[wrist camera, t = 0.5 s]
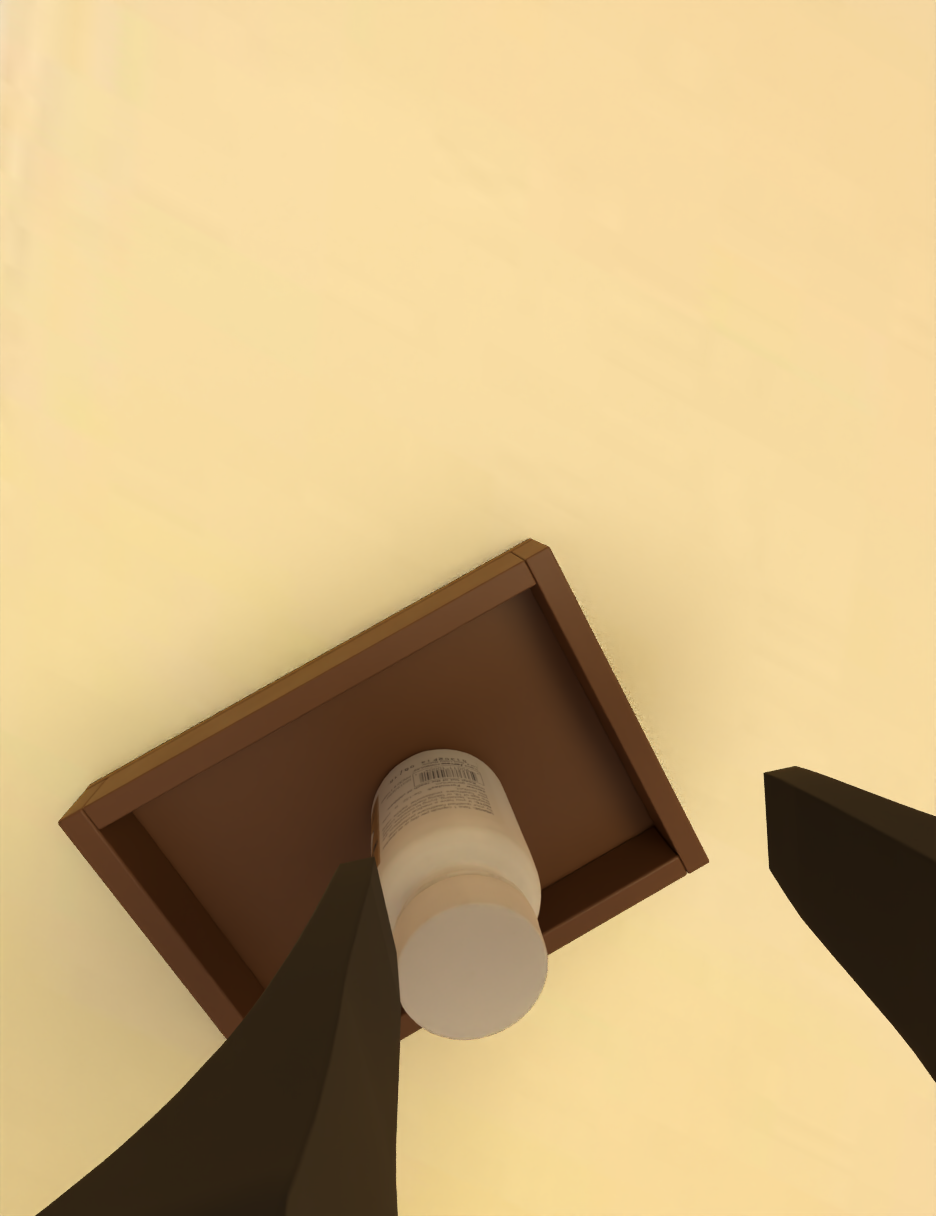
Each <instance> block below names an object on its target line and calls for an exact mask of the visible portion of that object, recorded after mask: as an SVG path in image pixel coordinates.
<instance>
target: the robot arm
mask: <svg viewBox="0 0 936 1216" xmlns="http://www.w3.org/2000/svg"><path fill="white" fill-rule="evenodd" d="M764 787H765V804H766V821H767V839H768V856H769V869H770V871H771V872H772V874H773V875H774V877H775V879H776V880H777V882H778V883H779V885H780V887H781V888H782V890H783V891H784V893H785V895H786V896H787V898H788V899H789V901H790V902H791V903H792V905H793V906H794V908H795V909H796V911H797V912H798V914H799V915H800V917H801V918H802V919H803V921H804V922H805V923H806V924H807V925H808V927H809V928H810V929H811V930H812V931H813V933H814V934H815V935H816V936H817V937H818V939H819V940H820V941H821V942H822V943H823V944H824V946H825V947H826V948H827V949H828V950H829V952H830V953H831V954H832V955H833V956H834V957H835V959H836V960H837V961H838V962H839V963H840V964H841V966H842V967H843V968H844V969H845V970H846V971H847V973H848V974H849V975H850V976H851V977H852V978H853V980H854V981H855V982H856V983H857V984H858V985H859V987H860V988H861V989H862V990H863V991H864V992H865V994H866V995H867V996H868V997H869V998H870V999H871V1001H872V1002H873V1003H874V1004H875V1005H876V1006H877V1008H878V1009H879V1010H880V1011H881V1012H882V1013H883V1015H884V1016H885V1017H886V1018H887V1019H888V1020H889V1022H890V1023H891V1024H892V1025H893V1026H894V1028H895V1029H896V1030H897V1031H898V1033H899V1034H900V1035H901V1036H902V1038H903V1039H904V1040H905V1041H906V1043H907V1044H908V1045H909V1046H910V1048H911V1049H912V1050H913V1051H914V1053H915V1054H916V1056H917V1057H918V1058H919V1060H920V1061H921V1063H922V1064H923V1065H924V1067H925V1068H926V1070H927V1071H928V1072H929V1074H930V1075H931V1077H932V1078H933V1080H934V1081H935V1082H936V816H933V815H930V814H927V813H924V812H921V811H919V810H916V809H913V808H910V807H908V806H905V805H902V804H899V803H897V802H894V801H891V800H889V799H886V798H883V797H881V796H878V795H875V794H873V793H870V792H867V791H865V790H862V789H859V788H857V787H854V786H852V785H849V784H846V783H844V782H841V781H838V780H836V779H833V778H830V777H828V776H825V775H822V774H819V773H816V772H813V771H810V770H807V769H804V768H800V767H797V766H793V767H789V768H784V769H779V770H775V771H770V772H765V773H764ZM400 1026H401V1003H400V988H399V975H398V962H397V951H396V947H395V943H394V938H393V934H392V930H391V925H390V921H389V917H388V912H387V908H386V904H385V899H384V895H383V891H382V886H381V882H380V878H379V873H378V869H377V865H376V860H375V856H374V857H369V858H364V859H360V860H355V861H351V862H346V863H341V864H340V865H339V866H338V868H337V869H336V870H335V872H334V874H333V876H332V878H331V880H330V882H329V884H328V886H327V888H326V890H325V892H324V894H323V896H322V898H321V899H320V901H319V903H318V905H317V907H316V909H315V910H314V912H313V914H312V916H311V918H310V919H309V921H308V923H307V925H306V926H305V928H304V930H303V931H302V933H301V935H300V936H299V938H298V940H297V942H296V943H295V945H294V947H293V948H292V950H291V951H290V953H289V955H288V956H287V958H286V959H285V961H284V962H283V964H282V965H281V967H280V968H279V970H278V971H277V973H276V974H275V976H274V977H273V979H272V980H271V982H270V983H269V985H268V986H267V988H266V989H265V991H264V992H263V994H262V995H261V996H260V998H259V999H258V1000H257V1002H256V1003H255V1005H254V1006H253V1007H252V1009H251V1010H250V1011H249V1013H248V1014H247V1015H246V1017H245V1018H244V1019H243V1020H242V1022H241V1023H240V1024H239V1025H238V1027H237V1028H236V1029H235V1030H234V1032H233V1033H232V1034H231V1035H230V1036H229V1038H228V1039H227V1040H226V1041H225V1042H224V1043H223V1045H222V1046H221V1047H220V1048H219V1049H218V1050H217V1051H216V1052H215V1053H214V1054H213V1056H212V1057H211V1058H210V1059H209V1060H208V1061H207V1062H206V1063H205V1064H204V1065H203V1066H202V1067H201V1068H200V1070H199V1071H198V1072H197V1073H196V1074H195V1075H194V1076H193V1077H192V1078H191V1079H190V1080H189V1081H188V1082H187V1084H186V1085H185V1086H184V1087H183V1088H182V1089H181V1090H180V1091H179V1092H178V1093H177V1094H176V1095H175V1096H174V1097H173V1098H172V1099H171V1100H170V1101H169V1102H168V1103H167V1104H166V1105H165V1106H164V1107H163V1108H162V1109H161V1110H160V1111H159V1112H158V1113H156V1114H155V1115H154V1116H153V1117H152V1118H151V1119H150V1120H149V1121H148V1122H147V1123H146V1124H145V1125H144V1126H143V1127H141V1128H140V1129H139V1130H138V1131H137V1132H136V1133H135V1134H134V1135H133V1136H132V1137H130V1138H129V1139H128V1140H127V1141H126V1142H125V1143H124V1144H123V1145H122V1146H120V1147H119V1148H118V1149H117V1150H116V1151H115V1152H114V1153H112V1154H111V1155H110V1156H109V1157H108V1158H107V1159H105V1160H104V1161H103V1162H102V1163H101V1164H99V1165H98V1166H97V1167H96V1168H94V1169H93V1170H92V1171H91V1172H90V1173H88V1174H87V1175H86V1176H85V1177H83V1178H82V1179H81V1180H80V1181H78V1182H77V1183H76V1184H75V1185H73V1186H72V1187H71V1188H70V1189H68V1190H67V1191H66V1192H65V1193H64V1194H62V1195H61V1196H60V1197H59V1198H57V1199H56V1200H55V1201H54V1202H52V1203H51V1204H50V1205H49V1206H47V1207H46V1208H45V1209H43V1210H42V1211H41V1212H40V1213H38V1214H37V1215H36V1216H398V1211H397V1190H396V1133H397V1107H398V1081H399V1055H400Z"/></svg>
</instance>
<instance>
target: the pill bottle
mask: <svg viewBox="0 0 936 1216" xmlns="http://www.w3.org/2000/svg"><path fill="white" fill-rule="evenodd" d="M374 856H375V860H376V865H377V869H378V873H379V878H380V882H381V886H382V891H383V895H384V899H385V904H386V908H387V912H388V917H389V921H390V925H391V930H392V934H393V938H394V943H395V947H396V951H397V962H398V975H399V988H400V1002H401V1004H402V1006H403V1008H404V1010H405V1011H406V1013H407V1014H408V1015H409V1016H410V1017H411V1018H412V1019H413V1020H414V1021H415V1022H416V1023H417V1024H418V1025H419V1026H421V1027H422V1028H424V1029H425V1030H427V1031H429V1032H431V1033H433V1034H436V1035H439V1036H442V1037H445V1038H449V1039H458V1040H471V1039H478V1038H483V1037H486V1036H490V1035H493V1034H496V1033H498V1032H501V1031H503V1030H505V1029H507V1028H509V1027H510V1026H512V1025H513V1024H515V1023H516V1022H517V1021H519V1020H520V1019H521V1018H522V1017H523V1016H524V1015H525V1014H526V1013H527V1012H528V1011H529V1010H530V1009H531V1008H532V1006H533V1005H534V1004H535V1002H536V1001H537V999H538V997H539V995H540V993H541V991H542V989H543V986H544V984H545V980H546V977H547V971H548V955H547V950H546V946H545V942H544V939H543V936H542V933H541V930H540V927H539V923H538V920H537V918H538V914H539V910H540V902H541V887H540V881H539V876H538V872H537V870H536V867H535V864H534V861H533V858H532V856H531V853H530V851H529V849H528V846H527V844H526V842H525V839H524V837H523V834H522V832H521V830H520V827H519V825H518V822H517V820H516V818H515V815H514V813H513V810H512V808H511V805H510V803H509V801H508V798H507V796H506V793H505V791H504V789H503V787H502V784H501V783H500V781H499V779H498V778H497V776H496V775H495V773H494V772H493V771H492V770H491V769H490V768H489V767H488V766H487V765H486V764H485V763H483V762H482V761H481V760H479V759H478V758H476V757H474V756H472V755H470V754H468V753H464V752H461V751H457V750H449V749H437V750H429V751H424V752H421V753H418V754H416V755H413V756H411V757H410V758H408V759H406V760H404V761H403V762H401V763H400V764H398V765H397V766H396V767H395V768H394V769H393V770H391V771H390V773H389V774H388V775H387V776H386V777H385V778H384V780H383V782H382V783H381V785H380V787H379V788H378V790H377V793H376V795H375V798H374V801H373V805H372V812H371V857H374Z"/></svg>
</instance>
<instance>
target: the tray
mask: <svg viewBox="0 0 936 1216" xmlns="http://www.w3.org/2000/svg"><path fill="white" fill-rule="evenodd" d="M437 749H449V750H457V751H461V752H464V753H468V754H470V755H472V756H474V757H476V758H478V759H479V760H481V761H482V762H483V763H485V764H486V765H487V766H488V767H489V768H490V769H491V770H492V771H493V772H494V773H495V775H496V776H497V778H498V779H499V781H500V783H501V784H502V787H503V789H504V791H505V793H506V796H507V798H508V801H509V803H510V805H511V808H512V810H513V813H514V815H515V818H516V820H517V822H518V825H519V827H520V830H521V832H522V834H523V837H524V839H525V842H526V844H527V846H528V849H529V851H530V853H531V856H532V858H533V861H534V864H535V867H536V870H537V872H538V876H539V881H540V887H541V902H540V910H539V914H538V918H537V920H538V923H539V927H540V930H541V933H542V936H543V939H544V942H545V946H546V950H547V955H549V954H551V953H552V952H554V951H556V950H557V949H559V948H561V947H563V946H564V945H566V944H568V943H570V942H571V941H573V940H575V939H577V938H578V937H580V936H582V935H583V934H585V933H587V932H589V931H590V930H592V929H594V928H596V927H597V926H599V925H601V924H602V923H604V922H606V921H608V920H609V919H611V918H613V917H615V916H616V915H618V914H620V913H621V912H623V911H625V910H627V909H628V908H630V907H632V906H634V905H635V904H637V903H639V902H640V901H642V900H644V899H646V898H647V897H649V896H651V895H653V894H654V893H656V892H658V891H659V890H661V889H663V888H665V887H666V886H668V885H670V884H672V883H673V882H675V881H677V880H678V879H680V878H682V877H684V876H685V875H686V874H687V873H692V872H693V871H695V870H697V869H698V868H700V867H702V866H704V865H705V864H707V863H709V859H708V857H707V855H706V853H705V851H704V849H703V847H702V846H701V844H700V842H699V840H698V838H697V836H696V834H695V832H694V830H693V828H692V826H691V824H690V822H689V820H688V818H687V816H686V814H685V812H684V810H683V808H682V806H681V804H680V802H679V800H678V798H677V796H676V794H675V792H674V790H673V789H672V787H671V785H670V783H669V781H668V779H667V777H666V775H665V773H664V771H663V769H662V767H661V765H660V763H659V761H658V759H657V757H656V755H655V753H654V751H653V749H652V747H651V745H650V743H649V741H648V739H647V737H646V735H645V734H644V732H643V730H642V728H641V726H640V724H639V722H638V720H637V718H636V716H635V714H634V712H633V710H632V708H631V706H630V704H629V702H628V700H627V698H626V696H625V694H624V692H623V690H622V688H621V686H620V684H619V682H618V680H617V679H616V677H615V675H614V673H613V671H612V669H611V667H610V665H609V663H608V661H607V659H606V657H605V655H604V653H603V651H602V649H601V647H600V645H599V643H598V641H597V639H596V637H595V635H594V633H593V631H592V629H591V627H590V625H589V623H588V622H587V620H586V618H585V616H584V614H583V612H582V610H581V608H580V606H579V604H578V602H577V600H576V598H575V596H574V594H573V592H572V590H571V588H570V586H569V584H568V582H567V580H566V578H565V576H564V574H563V572H562V570H561V568H560V567H559V565H558V563H557V561H556V559H555V557H554V555H553V553H552V551H551V549H550V547H548V546H546V545H544V544H542V543H539V542H537V541H535V540H533V539H531V538H530V539H528V540H526V541H524V542H522V543H520V544H519V545H517V546H515V547H513V548H512V549H510V550H508V551H506V552H504V553H503V554H501V555H499V556H497V557H495V558H494V559H492V560H490V561H488V562H487V563H485V564H483V565H481V566H479V567H478V568H476V569H474V570H472V571H470V572H469V573H467V574H465V575H463V576H462V577H460V578H458V579H456V580H454V581H453V582H451V583H449V584H447V585H446V586H444V587H442V588H440V589H438V590H437V591H435V592H433V593H431V594H429V595H428V596H426V597H424V598H422V599H421V600H419V601H417V602H415V603H413V604H412V605H410V606H408V607H406V608H404V609H403V610H401V611H399V612H397V613H396V614H394V615H392V616H390V617H388V618H387V619H385V620H383V621H381V622H379V623H378V624H376V625H374V626H372V627H371V628H369V629H367V630H365V631H363V632H362V633H360V634H358V635H356V636H354V637H353V638H351V639H349V640H347V641H346V642H344V643H342V644H340V645H338V646H337V647H335V648H333V649H331V650H330V651H328V652H326V653H324V654H322V655H321V656H319V657H317V658H315V659H313V660H312V661H310V662H308V663H306V664H305V665H303V666H301V667H299V668H297V669H296V670H294V671H292V672H290V673H288V674H287V675H285V676H283V677H281V678H280V679H278V680H276V681H274V682H272V683H271V684H269V685H267V686H265V687H263V688H262V689H260V690H258V691H256V692H255V693H253V694H251V695H249V696H247V697H246V698H244V699H242V700H240V701H239V702H237V703H235V704H233V705H231V706H230V707H228V708H226V709H224V710H222V711H221V712H219V713H217V714H215V715H214V716H212V717H210V718H208V719H206V720H205V721H203V722H201V723H199V724H197V725H196V726H194V727H192V728H190V729H189V730H187V731H185V732H183V733H181V734H180V735H178V736H176V737H174V738H172V739H171V740H169V741H167V742H165V743H164V744H162V745H160V746H158V747H156V748H155V749H153V750H151V751H149V752H147V753H146V754H144V755H142V756H140V757H139V758H137V759H135V760H133V761H131V762H130V763H128V764H126V765H124V766H123V767H121V768H119V769H117V770H115V771H114V772H112V773H110V774H108V775H106V776H105V777H103V778H101V779H99V780H98V781H96V782H94V783H92V784H90V785H89V786H88V788H87V789H86V790H85V792H84V793H83V794H82V795H81V796H80V797H79V799H78V800H77V801H76V802H75V803H74V804H73V805H72V807H71V808H70V809H69V810H68V811H67V812H66V813H65V815H64V816H63V817H62V818H61V819H60V820H59V822H58V824H59V826H60V827H61V828H62V829H63V831H64V832H65V833H66V835H67V836H68V837H69V838H70V840H71V841H72V842H73V843H74V845H75V846H76V847H77V849H78V850H79V851H80V852H81V854H82V855H83V856H84V858H85V859H86V860H87V861H88V863H89V864H90V865H91V866H92V868H93V869H94V870H95V872H96V873H97V874H98V875H99V877H100V878H101V879H102V881H103V882H104V883H105V884H106V886H107V887H108V888H109V889H110V891H111V892H112V893H113V895H114V896H115V897H116V898H117V900H118V901H119V902H120V904H121V905H122V906H123V907H124V909H125V910H126V911H127V912H128V914H129V915H130V916H131V918H132V919H133V920H134V921H135V923H136V924H137V925H138V927H139V928H140V929H141V930H142V932H143V933H144V934H145V935H146V937H147V938H148V939H149V941H150V942H151V943H152V944H153V946H154V947H155V948H156V950H157V951H158V952H159V953H160V955H161V956H162V957H163V958H164V960H165V961H166V962H167V964H168V965H169V966H170V967H171V969H172V970H173V971H174V973H175V974H176V975H177V976H178V978H179V979H180V980H181V981H182V983H183V984H184V985H185V987H186V988H187V989H188V990H189V992H190V993H191V994H192V996H193V997H194V998H195V999H196V1001H197V1002H198V1003H199V1004H200V1006H201V1007H202V1008H203V1010H204V1011H205V1012H206V1013H207V1015H208V1016H209V1017H210V1019H211V1020H212V1021H213V1022H214V1024H215V1025H216V1026H217V1027H218V1029H219V1030H220V1031H221V1033H222V1034H223V1035H224V1036H225V1038H226V1039H228V1038H229V1036H230V1035H231V1034H232V1033H233V1032H234V1030H235V1029H236V1028H237V1027H238V1025H239V1024H240V1023H241V1022H242V1020H243V1019H244V1018H245V1017H246V1015H247V1014H248V1013H249V1011H250V1010H251V1009H252V1007H253V1006H254V1005H255V1003H256V1002H257V1000H258V999H259V998H260V996H261V995H262V994H263V992H264V991H265V989H266V988H267V986H268V985H269V983H270V982H271V980H272V979H273V977H274V976H275V974H276V973H277V971H278V970H279V968H280V967H281V965H282V964H283V962H284V961H285V959H286V958H287V956H288V955H289V953H290V951H291V950H292V948H293V947H294V945H295V943H296V942H297V940H298V938H299V936H300V935H301V933H302V931H303V930H304V928H305V926H306V925H307V923H308V921H309V919H310V918H311V916H312V914H313V912H314V910H315V909H316V907H317V905H318V903H319V901H320V899H321V898H322V896H323V894H324V892H325V890H326V888H327V886H328V884H329V882H330V880H331V878H332V876H333V874H334V872H335V870H336V869H337V868H338V866H339V865H340V864H341V863H346V862H351V861H355V860H360V859H364V858H369V857H371V812H372V805H373V801H374V798H375V795H376V793H377V790H378V788H379V787H380V785H381V783H382V782H383V780H384V778H385V777H386V776H387V775H388V774H389V773H390V771H391V770H393V769H394V768H395V767H396V766H397V765H398V764H400V763H401V762H403V761H404V760H406V759H408V758H410V757H411V756H413V755H416V754H418V753H421V752H424V751H429V750H437ZM686 871H687V872H686ZM400 1003H401V1002H400ZM421 1028H422V1027H421V1026H419V1025H418V1024H417V1023H416V1022H415V1021H414V1020H413V1019H412V1018H411V1017H410V1016H409V1015H408V1014H407V1013H406V1011H405V1010H404V1008H403V1006H402V1004H401V1026H400V1040H402V1039H404V1038H405V1037H407V1036H409V1035H411V1034H412V1033H414V1032H416V1031H417V1030H419V1029H421Z"/></svg>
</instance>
